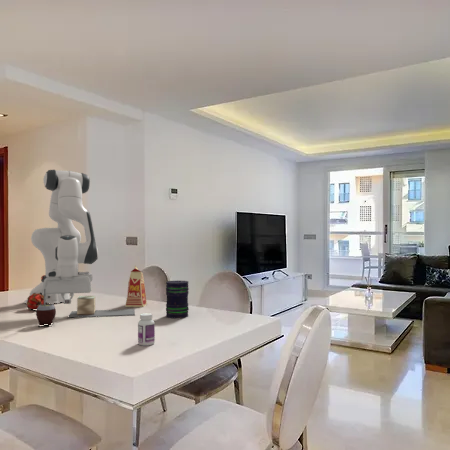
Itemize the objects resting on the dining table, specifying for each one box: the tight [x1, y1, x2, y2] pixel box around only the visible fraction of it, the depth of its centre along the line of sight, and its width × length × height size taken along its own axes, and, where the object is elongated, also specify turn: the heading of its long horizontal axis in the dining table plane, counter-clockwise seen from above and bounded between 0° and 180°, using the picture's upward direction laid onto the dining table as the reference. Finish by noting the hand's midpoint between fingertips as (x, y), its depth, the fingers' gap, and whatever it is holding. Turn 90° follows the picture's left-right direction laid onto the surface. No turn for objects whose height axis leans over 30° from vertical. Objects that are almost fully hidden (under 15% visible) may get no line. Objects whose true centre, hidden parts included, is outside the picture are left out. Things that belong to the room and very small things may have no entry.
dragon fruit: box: [26, 293, 48, 310], centre depth 199 cm, size 8×8×12 cm
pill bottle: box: [137, 312, 156, 347], centre depth 138 cm, size 5×5×10 cm
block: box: [76, 295, 96, 315], centre depth 188 cm, size 7×7×7 cm
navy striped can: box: [165, 280, 190, 319], centre depth 184 cm, size 10×10×15 cm
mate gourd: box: [35, 289, 57, 326], centre depth 165 cm, size 8×8×15 cm
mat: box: [68, 308, 136, 318], centre depth 189 cm, size 28×14×1 cm, turn 103°
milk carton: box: [124, 265, 148, 308], centre depth 211 cm, size 9×9×20 cm
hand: (67, 303), depth 186 cm, fingers closed
